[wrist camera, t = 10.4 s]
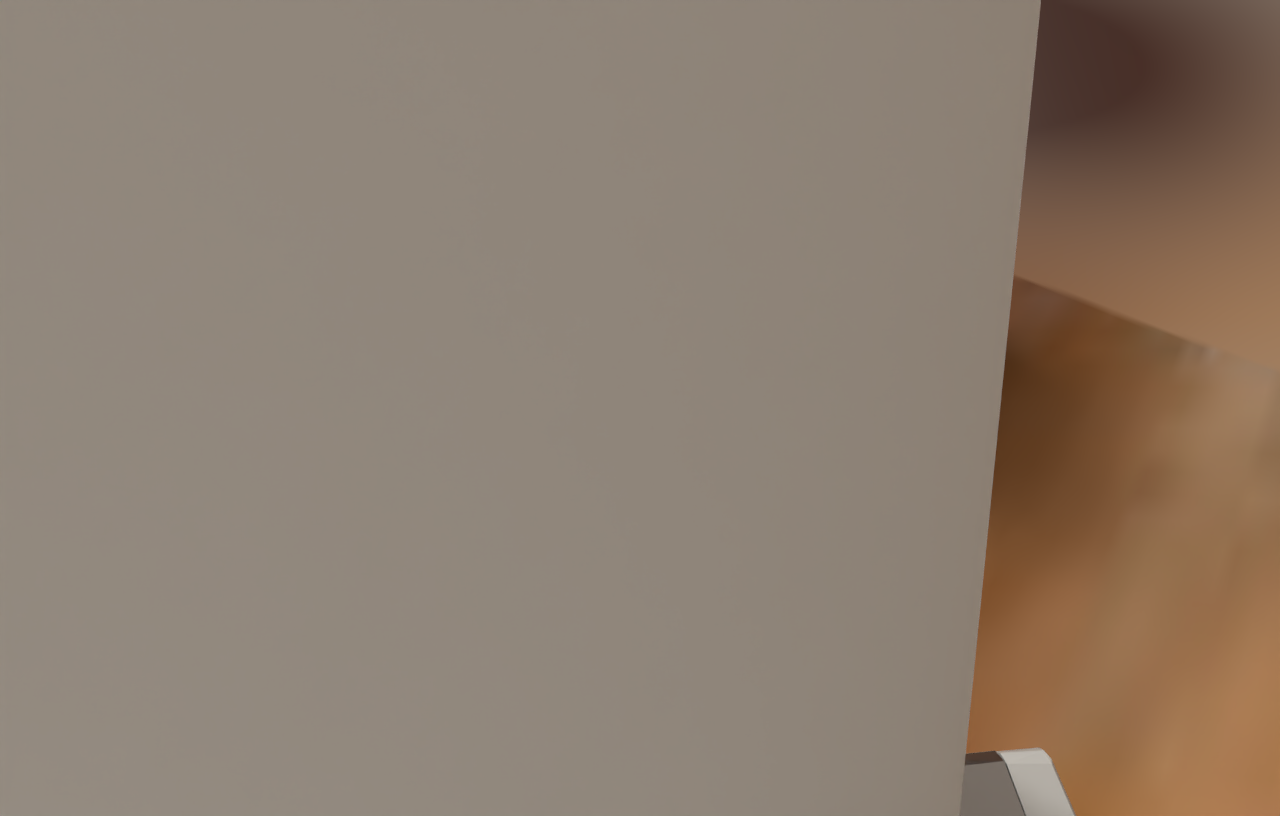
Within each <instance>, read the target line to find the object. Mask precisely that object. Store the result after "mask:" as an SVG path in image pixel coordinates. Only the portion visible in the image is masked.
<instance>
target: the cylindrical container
mask: <svg viewBox="0 0 1280 816" xmlns="http://www.w3.org/2000/svg"><path fill="white" fill-rule="evenodd" d="M1040 4H1041V0H0V816H959V815H960V805H961V795H962V785H963V775H964V765H965V755H966V745H967V735H968V725H969V715H970V705H971V695H972V685H973V675H974V665H975V655H976V645H977V635H978V625H979V615H980V605H981V595H982V585H983V575H984V565H985V555H986V545H987V535H988V525H989V515H990V505H991V495H992V485H993V475H994V465H995V455H996V445H997V435H998V425H999V415H1000V404H1001V394H1002V384H1003V374H1004V364H1005V354H1006V344H1007V334H1008V324H1009V314H1010V304H1011V294H1012V284H1013V274H1014V264H1015V254H1016V244H1017V234H1018V224H1019V214H1020V204H1021V194H1022V183H1023V174H1024V164H1025V153H1026V144H1027V134H1028V124H1029V114H1030V104H1031V93H1032V84H1033V73H1034V64H1035V53H1036V44H1037V34H1038V24H1039V13H1040Z"/></svg>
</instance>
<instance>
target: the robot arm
mask: <svg viewBox="0 0 1280 816" xmlns="http://www.w3.org/2000/svg"><path fill="white" fill-rule="evenodd" d="M959 816H1076V815H1075V812H1074V810H1073V808H1072V805H1071V803H1070V801H1069V798H1068V796H1067V794H1066V792H1065V789H1064V787H1063V785H1062V782H1061V780H1060V778H1059V775H1058V773H1057V771H1056V768H1055V766H1054V764H1053V762H1052V759H1051V758H1050V757H1049V756H1048V755H1047V753H1046V752H1045V751H1044V750H1042V749H1041V748H1029V749H1017V750H1006V751H988V752H978V753H969V754H966V755H965V765H964V775H963V785H962V795H961V805H960V815H959Z"/></svg>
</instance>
